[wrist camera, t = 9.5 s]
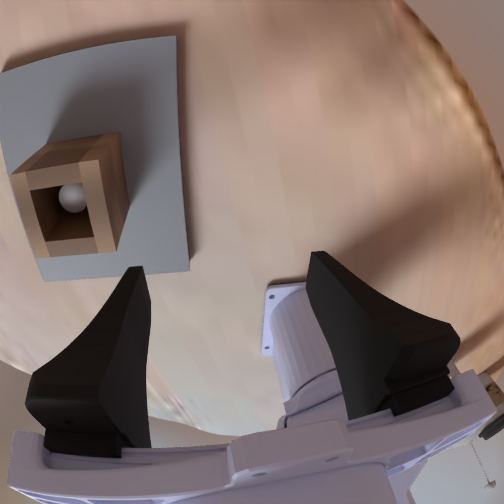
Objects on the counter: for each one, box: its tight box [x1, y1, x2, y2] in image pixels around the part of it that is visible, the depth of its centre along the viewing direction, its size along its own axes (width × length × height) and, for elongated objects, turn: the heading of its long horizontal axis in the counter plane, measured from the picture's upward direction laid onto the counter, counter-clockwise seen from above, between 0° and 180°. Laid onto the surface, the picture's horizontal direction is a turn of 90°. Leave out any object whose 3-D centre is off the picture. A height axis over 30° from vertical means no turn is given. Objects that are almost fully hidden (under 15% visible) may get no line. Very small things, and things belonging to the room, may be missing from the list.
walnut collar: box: [10, 132, 130, 259], centre depth 16 cm, size 5×5×5 cm
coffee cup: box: [478, 372, 504, 440], centre depth 53 cm, size 11×11×15 cm
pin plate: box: [0, 36, 190, 282], centre depth 17 cm, size 16×12×4 cm
